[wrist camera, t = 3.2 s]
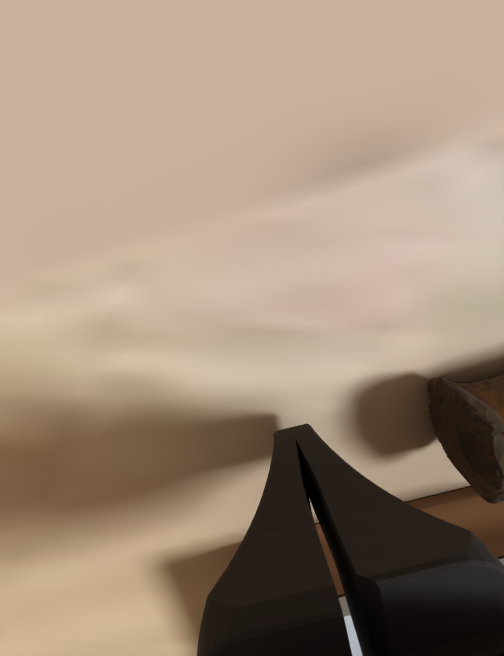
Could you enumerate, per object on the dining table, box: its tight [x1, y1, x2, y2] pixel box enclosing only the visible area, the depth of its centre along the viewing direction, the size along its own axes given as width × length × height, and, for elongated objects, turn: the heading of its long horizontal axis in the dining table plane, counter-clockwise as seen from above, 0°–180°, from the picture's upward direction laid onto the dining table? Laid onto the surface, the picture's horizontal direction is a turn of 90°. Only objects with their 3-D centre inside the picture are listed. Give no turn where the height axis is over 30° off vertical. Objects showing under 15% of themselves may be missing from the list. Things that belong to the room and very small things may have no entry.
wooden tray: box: [315, 487, 504, 598], centre depth 15 cm, size 11×13×4 cm
